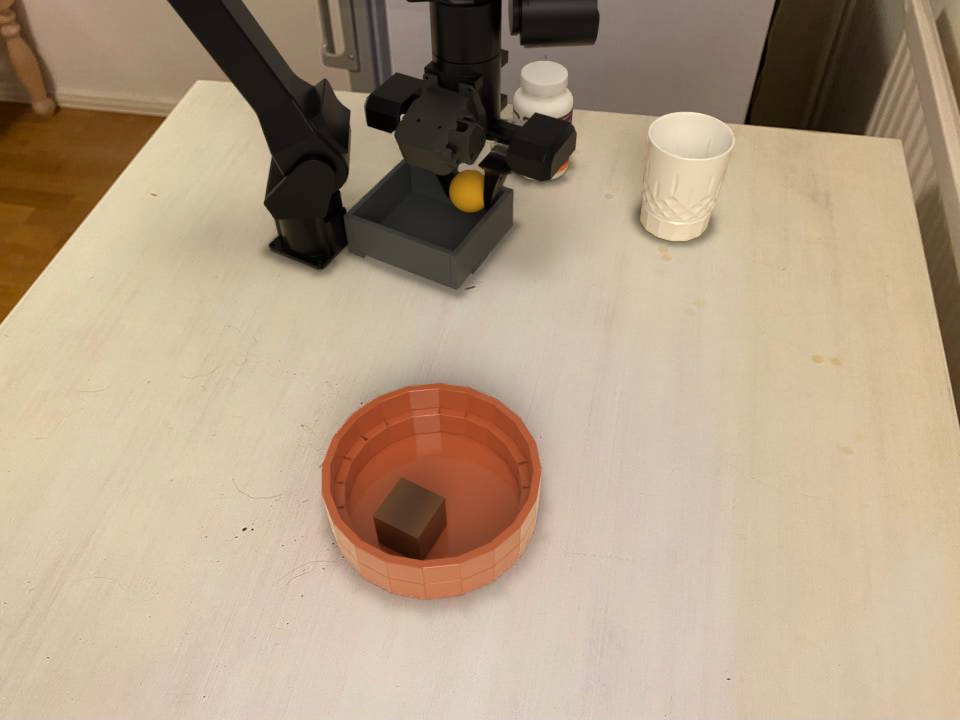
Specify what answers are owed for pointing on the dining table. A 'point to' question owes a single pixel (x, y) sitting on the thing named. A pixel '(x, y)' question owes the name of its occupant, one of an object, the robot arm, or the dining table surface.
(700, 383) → the dining table surface
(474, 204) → the toy ball
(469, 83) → the robot arm
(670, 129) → the white cup
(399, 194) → the bin
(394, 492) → the toy block
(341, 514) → the bowl
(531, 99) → the pill bottle
